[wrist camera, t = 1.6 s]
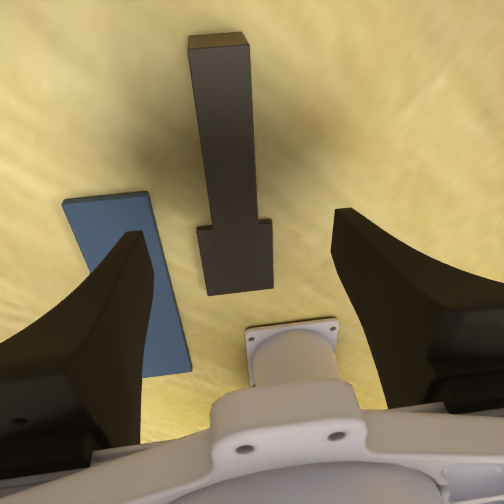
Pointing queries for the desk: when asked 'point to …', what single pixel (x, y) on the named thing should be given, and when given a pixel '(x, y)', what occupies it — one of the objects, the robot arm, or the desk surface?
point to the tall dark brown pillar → (229, 167)
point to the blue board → (163, 305)
